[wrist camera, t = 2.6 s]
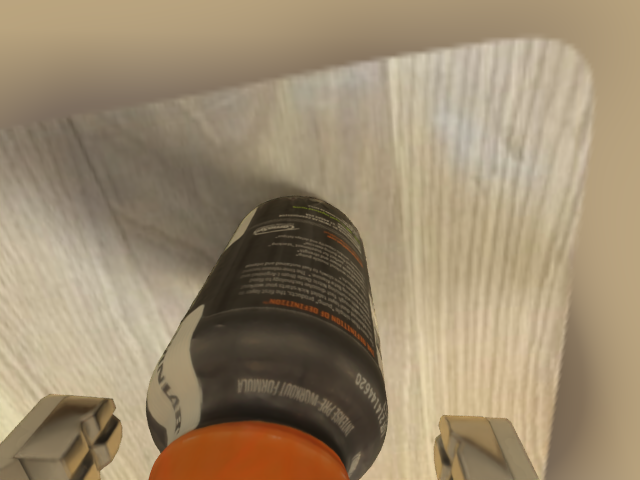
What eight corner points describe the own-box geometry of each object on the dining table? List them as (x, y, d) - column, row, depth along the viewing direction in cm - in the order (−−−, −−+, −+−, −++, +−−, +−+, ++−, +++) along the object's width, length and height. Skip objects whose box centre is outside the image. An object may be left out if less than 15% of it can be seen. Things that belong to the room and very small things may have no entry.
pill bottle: (206, 238, 16) (-18, 534, 6) (315, 165, 14) (265, 399, 4) (286, 327, 18) (221, 663, 8) (389, 272, 16) (475, 606, 6)
